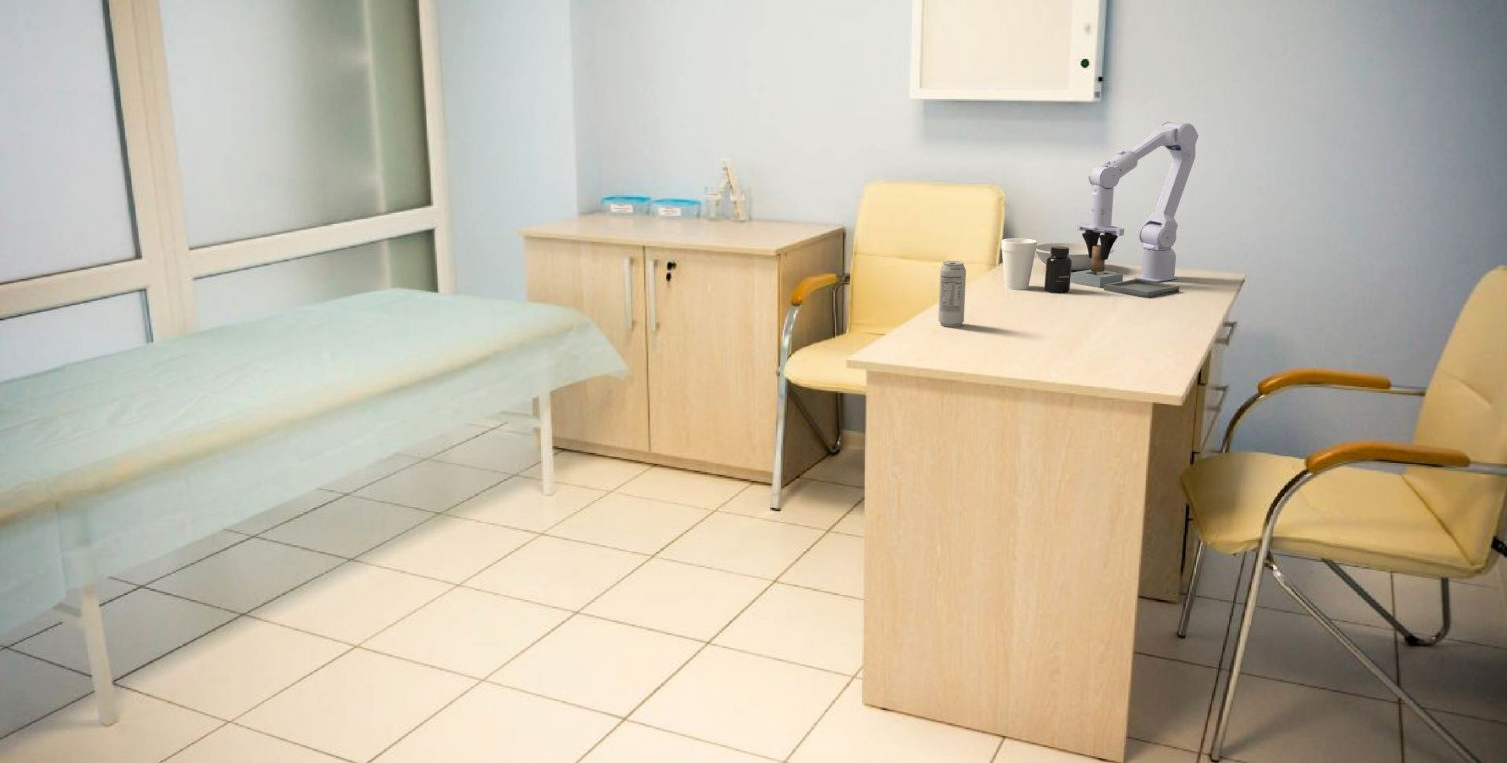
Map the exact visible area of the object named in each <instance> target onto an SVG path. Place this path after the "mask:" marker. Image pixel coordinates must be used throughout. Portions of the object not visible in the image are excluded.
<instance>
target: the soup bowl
mask: <svg viewBox="0 0 1507 763" xmlns="http://www.w3.org/2000/svg"><path fill="white" fill-rule="evenodd" d="M1097 245H1100V244H1097ZM1053 246H1063V247H1068V248H1069V255H1068V257H1069V258H1070V259H1071V260H1072V268H1071V272H1074V271H1075V272H1076V271H1085V270H1091V261H1092V258H1089V254H1088V249H1087V245H1086V242H1077V241H1055V242H1054V241H1052V242H1051V241H1050V242H1040V243H1037V248H1036V251H1035V254H1036V255H1037V257H1038V259H1039V260H1040V261H1041V262H1042V263H1044V264H1045V265H1046V260H1047V258H1048V257H1050V256H1051V254H1050V252H1051V247H1053ZM1114 251H1115V249H1114V248H1113V247H1112V248H1111V251H1110V253H1109V255H1110V254H1112V253H1114Z"/></svg>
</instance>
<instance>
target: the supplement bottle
mask: <svg viewBox="0 0 1507 763" xmlns="http://www.w3.org/2000/svg"><path fill="white" fill-rule="evenodd" d="M1050 254H1051V256H1050V257H1048V258H1047V260H1046V264H1045V273H1044V274H1045V275H1044V287H1043V288H1044V290H1045V292H1048V293H1053V294H1065V293H1069V292H1070V289H1071V273H1072V271H1071V268H1072V260H1071V259H1070V258H1069V257H1068V255H1069V248H1068V247H1063V246H1053V247H1051V252H1050Z"/></svg>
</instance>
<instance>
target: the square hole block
mask: <svg viewBox="0 0 1507 763" xmlns="http://www.w3.org/2000/svg"><path fill="white" fill-rule="evenodd" d="M1123 279H1124V273H1120V272H1114V271H1107V270H1104V272H1093V271H1091V269H1087V270H1078V271H1075V272H1074V271H1072V272H1071V281H1070V284H1077V285H1081V286H1082V285H1083V286H1088V287H1093V288H1098V289H1099V288H1104V284H1110V283H1115V282H1121V281H1124V280H1123Z"/></svg>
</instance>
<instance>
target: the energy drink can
mask: <svg viewBox="0 0 1507 763" xmlns="http://www.w3.org/2000/svg"><path fill="white" fill-rule="evenodd" d="M939 271H940V272H939V295H938V322H939V323H940V326H942V327H944V328H945V327H948V328H958V327H961V326H962V324H963V323H964V321H965V302H966V301H965V300H966V283H967V282H966V279H967V276H966V275H967V270H966V267H965V266H964V262H963V261H958V260H957V261H954V260H949V261H948V260H946V261H943V263H942V266H941V268H940V269H939Z"/></svg>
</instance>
